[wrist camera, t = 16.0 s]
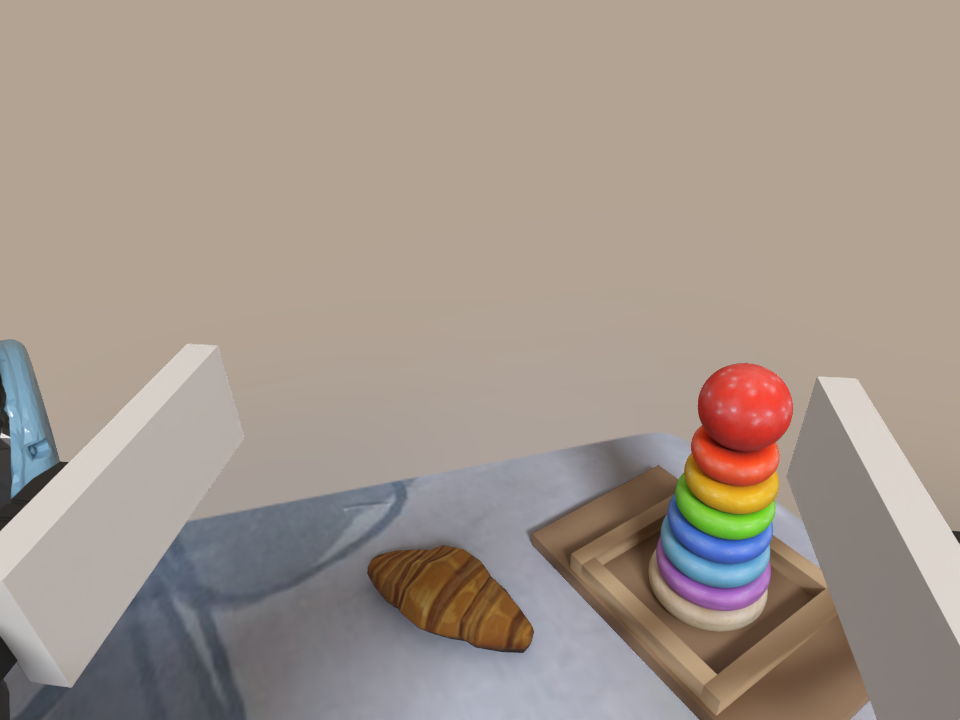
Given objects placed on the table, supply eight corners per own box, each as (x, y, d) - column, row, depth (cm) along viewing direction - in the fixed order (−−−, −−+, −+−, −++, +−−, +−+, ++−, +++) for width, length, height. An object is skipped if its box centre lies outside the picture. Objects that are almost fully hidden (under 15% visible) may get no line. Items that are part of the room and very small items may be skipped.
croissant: (552, 612, 46) (554, 565, 44) (509, 693, 41) (508, 645, 39) (399, 545, 52) (393, 499, 50) (345, 608, 47) (335, 562, 45)
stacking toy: (635, 547, 49) (663, 335, 40) (739, 543, 49) (793, 329, 40) (663, 640, 43) (705, 411, 33) (784, 634, 43) (861, 404, 33)
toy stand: (532, 544, 52) (532, 520, 50) (657, 475, 58) (660, 452, 56) (771, 794, 36) (782, 769, 34) (908, 662, 42) (921, 636, 41)
